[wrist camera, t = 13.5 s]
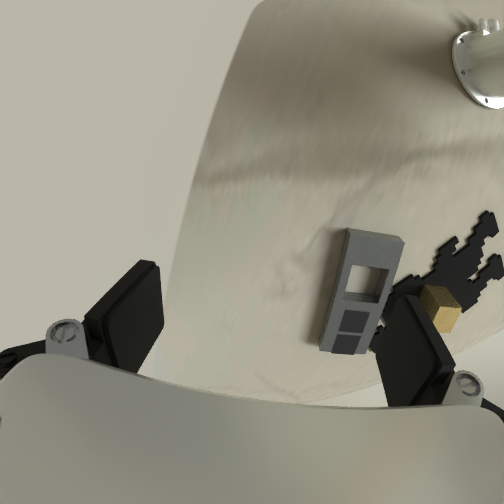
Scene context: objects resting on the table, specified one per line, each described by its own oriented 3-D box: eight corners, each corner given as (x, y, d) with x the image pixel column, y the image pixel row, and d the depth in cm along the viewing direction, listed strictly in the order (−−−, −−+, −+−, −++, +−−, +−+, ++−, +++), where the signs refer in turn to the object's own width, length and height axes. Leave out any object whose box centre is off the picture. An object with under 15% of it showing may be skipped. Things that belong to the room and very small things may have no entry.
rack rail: (347, 227, 38) (350, 234, 35) (398, 236, 37) (404, 243, 35) (318, 341, 46) (319, 352, 44) (362, 345, 45) (364, 355, 43)
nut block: (422, 282, 39) (439, 306, 33) (443, 285, 39) (462, 308, 33) (413, 306, 41) (428, 331, 35) (434, 307, 41) (450, 332, 34)
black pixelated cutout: (489, 206, 33) (344, 310, 43) (492, 208, 32) (345, 313, 42) (507, 276, 37) (382, 363, 47) (509, 279, 36) (383, 366, 46)
